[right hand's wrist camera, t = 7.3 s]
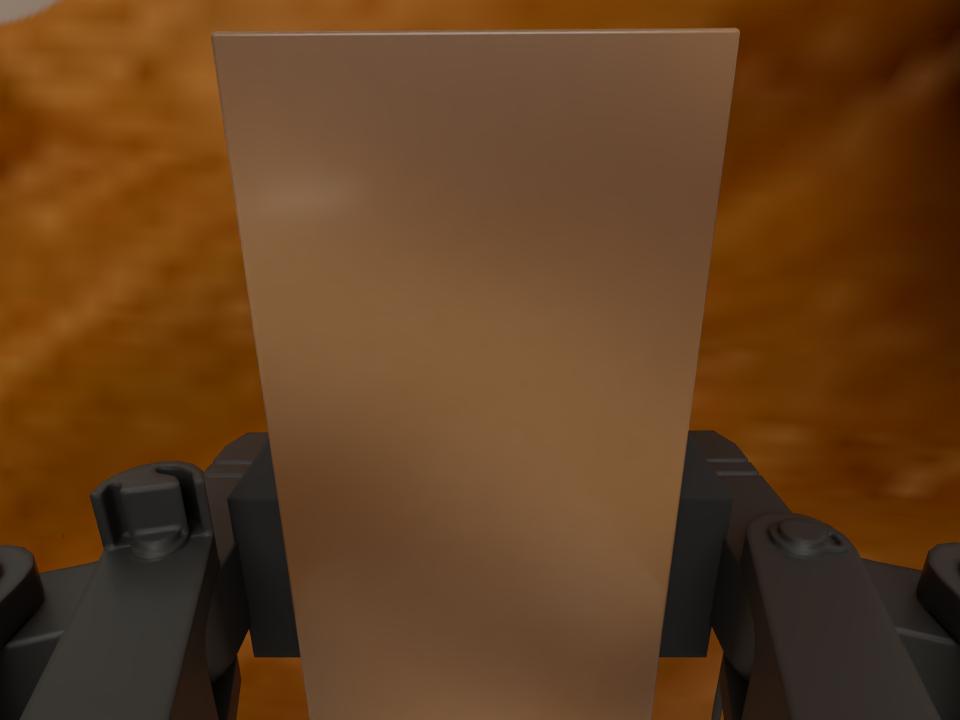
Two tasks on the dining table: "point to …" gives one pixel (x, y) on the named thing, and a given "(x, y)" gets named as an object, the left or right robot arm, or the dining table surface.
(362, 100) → the bar
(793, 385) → the dining table surface
